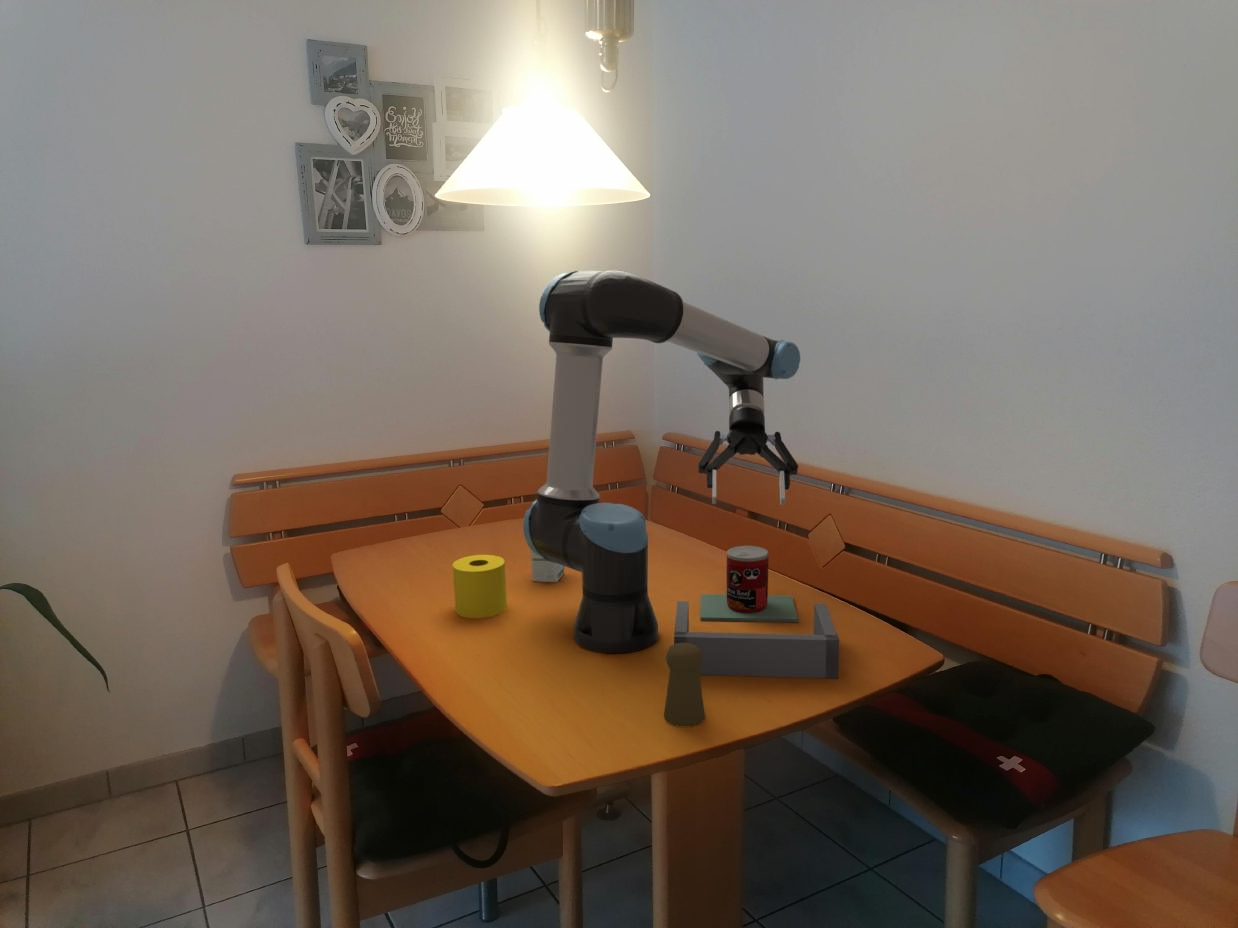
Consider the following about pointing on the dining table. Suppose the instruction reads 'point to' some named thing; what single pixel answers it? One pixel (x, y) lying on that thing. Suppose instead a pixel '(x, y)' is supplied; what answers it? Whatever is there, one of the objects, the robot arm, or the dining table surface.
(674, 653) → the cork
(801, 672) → the open box
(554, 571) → the syrup box
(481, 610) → the tape roll
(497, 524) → the dining table surface
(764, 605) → the canned food
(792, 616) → the green mat
